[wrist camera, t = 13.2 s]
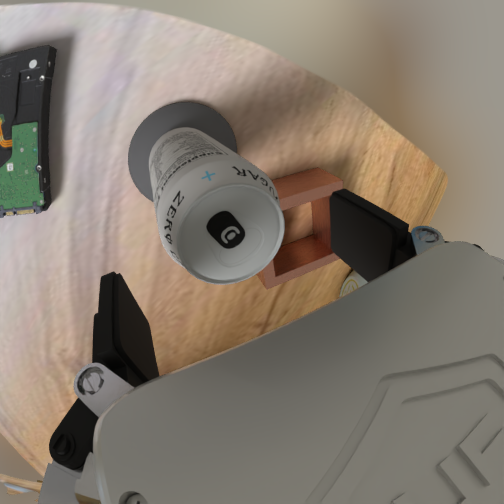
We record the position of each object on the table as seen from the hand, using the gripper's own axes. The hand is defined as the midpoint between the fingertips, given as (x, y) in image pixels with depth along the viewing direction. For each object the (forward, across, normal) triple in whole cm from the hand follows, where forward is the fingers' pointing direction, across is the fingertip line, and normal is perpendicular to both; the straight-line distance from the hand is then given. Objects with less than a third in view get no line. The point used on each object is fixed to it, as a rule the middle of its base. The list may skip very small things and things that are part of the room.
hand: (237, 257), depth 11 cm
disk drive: (+17, +15, -10) cm, 25 cm away
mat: (+16, -1, -1) cm, 16 cm away
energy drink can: (+16, 0, -1) cm, 16 cm away
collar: (+16, -10, +9) cm, 21 cm away
